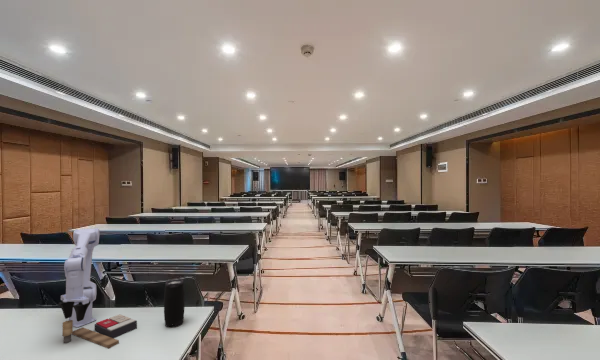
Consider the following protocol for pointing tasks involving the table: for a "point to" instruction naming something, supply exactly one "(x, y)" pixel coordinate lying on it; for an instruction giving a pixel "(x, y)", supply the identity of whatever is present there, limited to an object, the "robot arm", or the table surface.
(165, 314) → the portable speaker
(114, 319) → the calculator
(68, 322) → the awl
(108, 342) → the board
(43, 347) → the table surface
